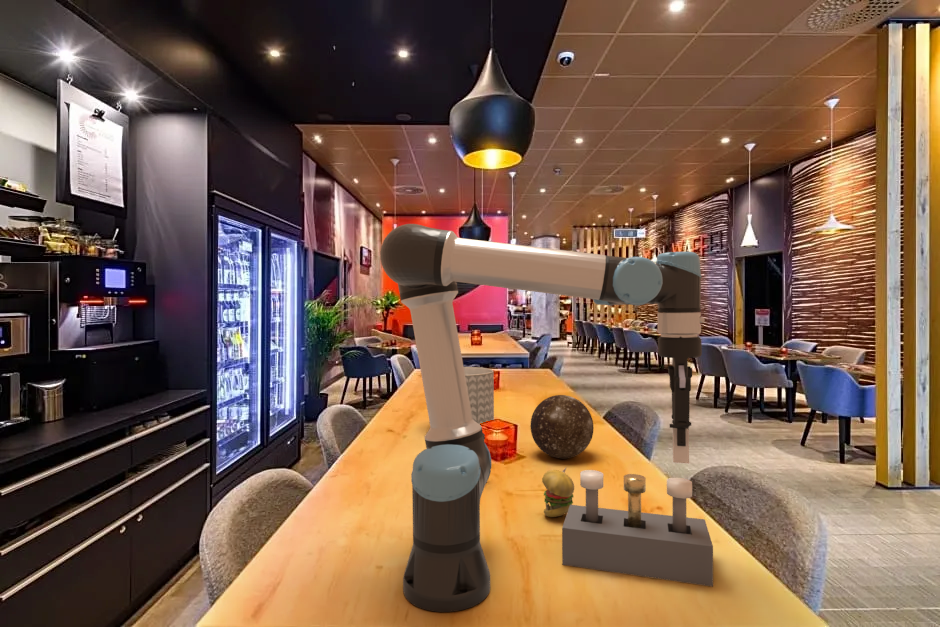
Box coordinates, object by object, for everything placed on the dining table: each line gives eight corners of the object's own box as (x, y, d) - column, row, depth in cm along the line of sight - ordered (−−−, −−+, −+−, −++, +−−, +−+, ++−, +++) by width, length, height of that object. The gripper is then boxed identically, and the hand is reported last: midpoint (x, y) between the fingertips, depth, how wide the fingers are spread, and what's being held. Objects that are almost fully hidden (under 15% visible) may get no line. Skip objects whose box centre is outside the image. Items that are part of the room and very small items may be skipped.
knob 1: (602, 528, 100) (602, 478, 100) (579, 525, 101) (579, 476, 101) (604, 519, 104) (604, 471, 104) (581, 516, 105) (581, 469, 105)
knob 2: (693, 539, 95) (693, 486, 95) (667, 536, 96) (667, 484, 96) (691, 529, 99) (691, 478, 99) (666, 526, 100) (666, 476, 100)
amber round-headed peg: (645, 533, 98) (645, 481, 97) (623, 530, 99) (623, 479, 99) (645, 524, 101) (645, 475, 101) (624, 522, 103) (623, 473, 102)
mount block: (713, 586, 90) (712, 546, 90) (562, 564, 98) (562, 527, 98) (704, 555, 102) (704, 519, 102) (570, 537, 110) (570, 504, 110)
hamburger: (553, 508, 126) (552, 458, 126) (580, 515, 121) (580, 464, 121) (536, 518, 120) (535, 466, 120) (564, 526, 115) (563, 472, 115)
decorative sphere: (606, 462, 162) (606, 398, 162) (550, 470, 155) (550, 403, 155) (571, 446, 181) (571, 388, 181) (519, 452, 174) (519, 392, 173)
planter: (419, 437, 195) (419, 373, 194) (442, 423, 219) (442, 366, 218) (484, 442, 187) (483, 375, 187) (500, 426, 211) (500, 367, 211)
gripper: (705, 337, 90) (707, 474, 90) (697, 333, 102) (699, 453, 102) (659, 337, 92) (660, 470, 92) (656, 333, 104) (658, 451, 105)
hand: (680, 461), depth 97 cm, fingers closed
